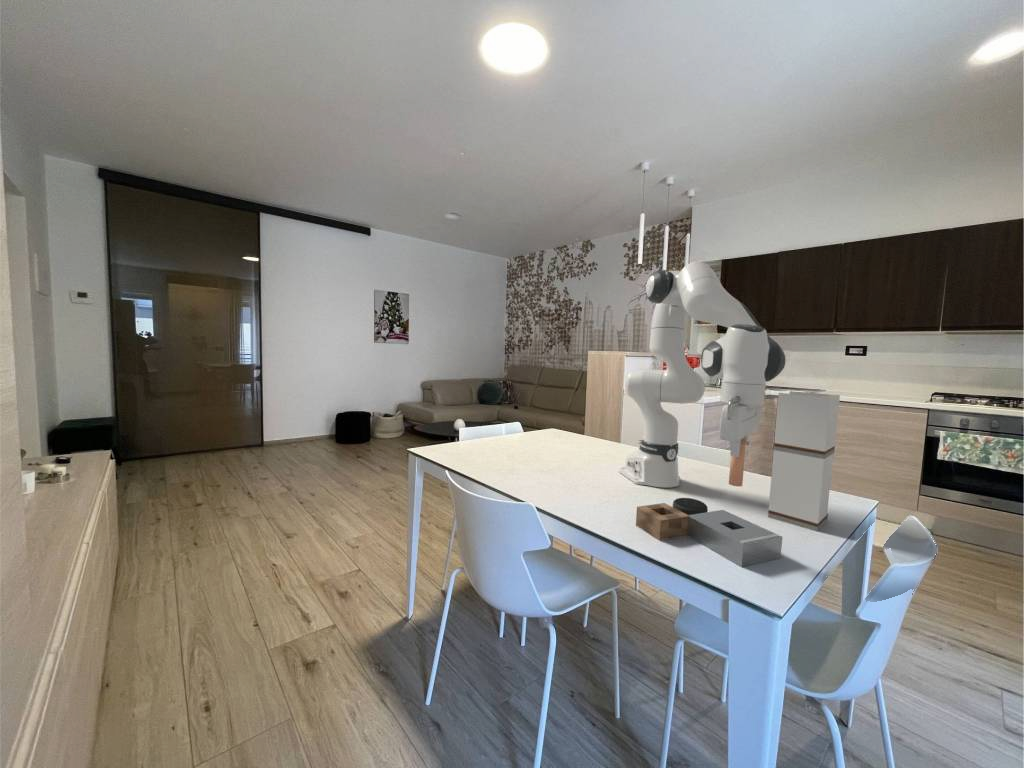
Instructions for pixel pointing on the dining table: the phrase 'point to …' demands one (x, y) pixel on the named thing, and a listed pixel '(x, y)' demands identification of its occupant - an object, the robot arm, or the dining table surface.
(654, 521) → the mount
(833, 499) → the dining table surface
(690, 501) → the smart speaker
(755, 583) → the dining table surface
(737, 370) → the robot arm
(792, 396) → the white tall box
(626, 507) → the dining table surface
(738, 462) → the pin
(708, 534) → the dock
